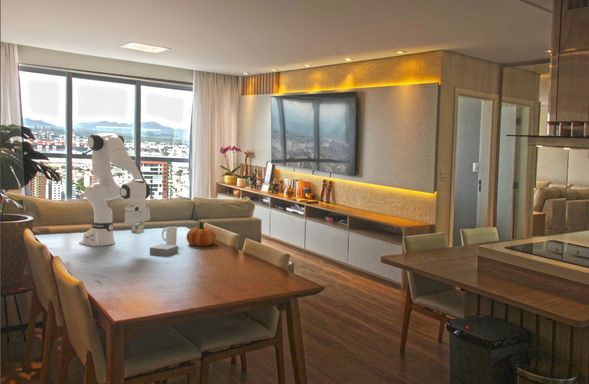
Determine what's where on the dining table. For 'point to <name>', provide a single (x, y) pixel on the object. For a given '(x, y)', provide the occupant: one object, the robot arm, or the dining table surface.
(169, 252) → the riser block
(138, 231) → the cube
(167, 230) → the mug
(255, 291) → the dining table surface
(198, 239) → the pumpkin
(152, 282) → the dining table surface
